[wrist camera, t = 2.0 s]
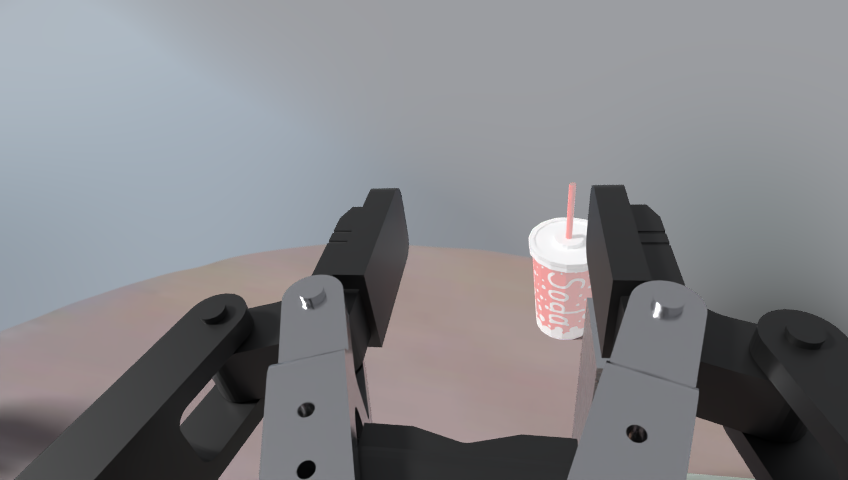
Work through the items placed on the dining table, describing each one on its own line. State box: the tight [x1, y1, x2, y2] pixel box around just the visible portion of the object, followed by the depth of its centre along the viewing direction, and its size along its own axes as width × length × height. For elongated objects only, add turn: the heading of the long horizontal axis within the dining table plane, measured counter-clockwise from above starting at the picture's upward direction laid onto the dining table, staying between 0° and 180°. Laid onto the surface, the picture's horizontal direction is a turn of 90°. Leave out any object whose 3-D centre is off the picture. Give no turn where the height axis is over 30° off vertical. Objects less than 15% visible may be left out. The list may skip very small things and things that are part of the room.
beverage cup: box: [529, 182, 592, 340], centre depth 40 cm, size 6×6×14 cm
